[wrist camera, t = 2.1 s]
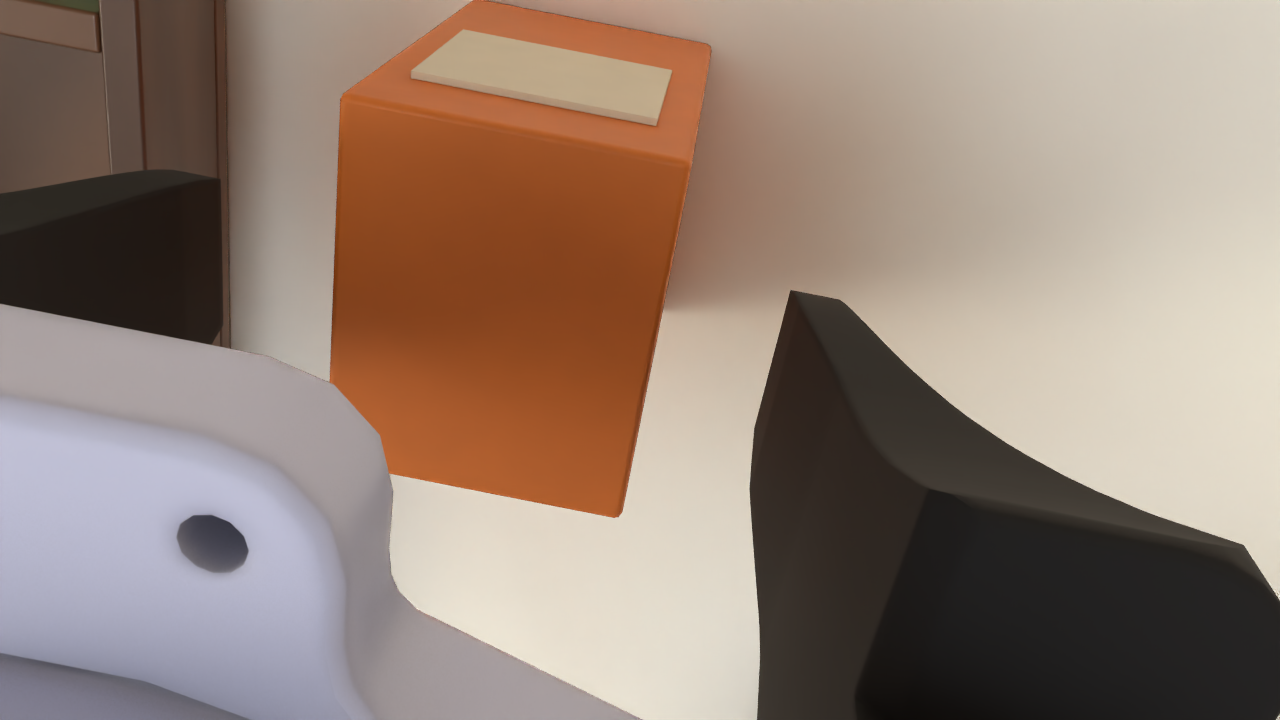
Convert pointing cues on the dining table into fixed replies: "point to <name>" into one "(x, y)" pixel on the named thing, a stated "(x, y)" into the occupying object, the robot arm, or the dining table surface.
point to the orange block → (512, 248)
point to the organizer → (114, 94)
